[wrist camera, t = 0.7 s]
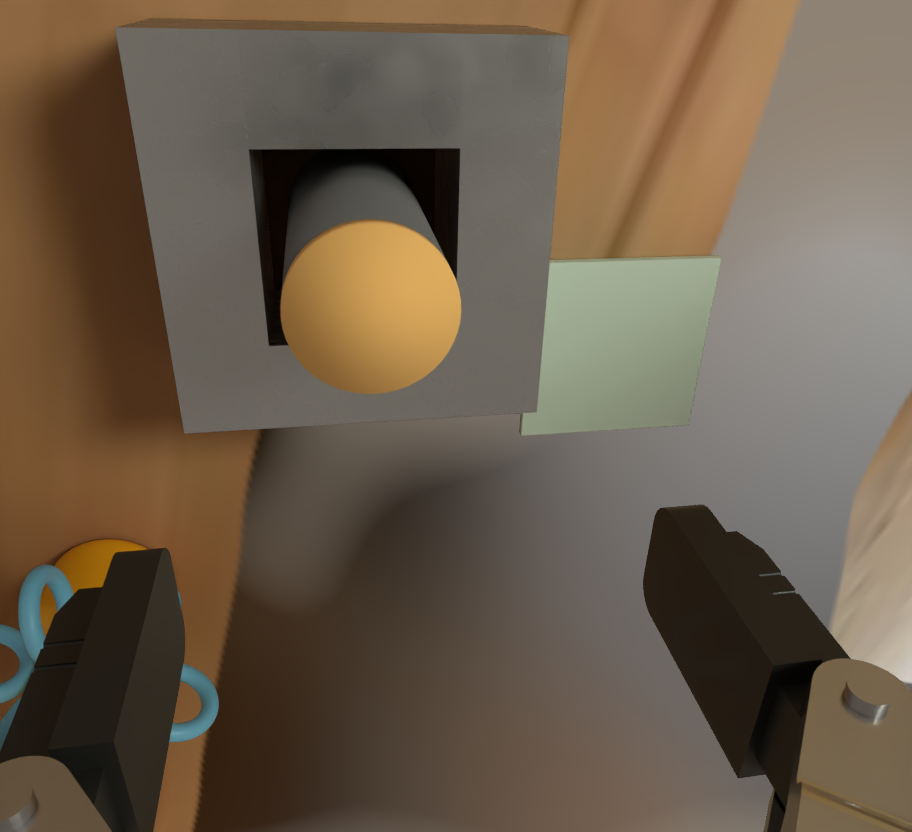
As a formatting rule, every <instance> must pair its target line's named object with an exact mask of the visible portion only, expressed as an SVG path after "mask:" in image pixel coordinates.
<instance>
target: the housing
mask: <svg viewBox="0 0 912 832" xmlns="http://www.w3.org/2000/svg"><path fill="white" fill-rule="evenodd" d="M115 29H116V35H117V41H118V47H119V53H120V59H121V65H122V70H123V76H124V82H125V88H126V94H127V100H128V106H129V112H130V118H131V123H132V129H133V135H134V141H135V147H136V153H137V159H138V165H139V170H140V176H141V182H142V188H143V194H144V200H145V206H146V212H147V217H148V223H149V229H150V235H151V241H152V247H153V253H154V259H155V264H156V270H157V276H158V282H159V288H160V294H161V300H162V306H163V312H164V317H165V323H166V329H167V335H168V341H169V347H170V353H171V359H172V364H173V370H174V376H175V382H176V388H177V394H178V400H179V406H180V411H181V417H182V423H183V429H184V434H185V433H201V432H218V431H235V430H252V429H268V428H285V427H301V426H318V425H335V424H351V423H368V422H385V421H402V420H418V419H435V418H451V417H469V416H485V415H501V414H519V413H536V412H537V405H538V393H539V382H540V370H541V359H542V347H543V335H544V324H545V312H546V301H547V289H548V278H549V266H550V254H551V243H552V231H553V220H554V208H555V197H556V185H557V173H558V162H559V150H560V139H561V127H562V116H563V104H564V93H565V81H566V69H567V58H568V46H569V35H564V34H560V33H555V32H551V31H546V30H542V29H537V28H532V27H528V26H506V25H455V24H405V23H355V22H304V21H254V20H203V19H153V18H150V19H146V20H142V21H139V22H135V23H131V24H127V25H123V26H119V27H115ZM420 148H435V207H434V236H435V238H436V240H437V242H438V244H439V246H440V248H441V250H442V252H443V254H444V256H445V258H446V260H447V262H448V264H449V266H450V268H451V270H452V272H453V274H454V277H455V279H456V282H457V285H458V288H459V292H460V298H461V319H460V325H459V329H458V333H457V335H456V338H455V341H454V343H453V345H452V347H451V348H450V350H449V352H448V353H447V355H446V356H445V358H444V359H443V360H442V361H441V362H440V364H439V365H438V366H437V367H436V368H435V369H434V370H433V371H431V372H430V373H429V374H428V375H427V376H425V377H424V378H422V379H420V380H419V381H417V382H415V383H413V384H411V385H409V386H407V387H404V388H402V389H399V390H396V391H391V392H387V393H379V394H360V393H352V392H348V391H344V390H341V389H338V388H335V387H333V386H330V385H328V384H326V383H324V382H323V381H321V380H319V379H318V378H316V377H315V376H314V375H312V374H311V373H310V372H309V371H308V370H307V369H305V368H304V367H303V366H302V364H301V363H300V362H299V361H298V360H297V359H296V357H295V355H294V354H293V352H292V351H291V349H290V347H289V345H288V343H287V341H286V338H285V335H284V332H283V329H282V323H281V309H280V306H281V294H282V290H275V287H274V276H273V266H272V255H271V244H270V234H269V223H268V212H267V202H266V191H265V180H264V170H263V159H262V149H420Z"/></svg>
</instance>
